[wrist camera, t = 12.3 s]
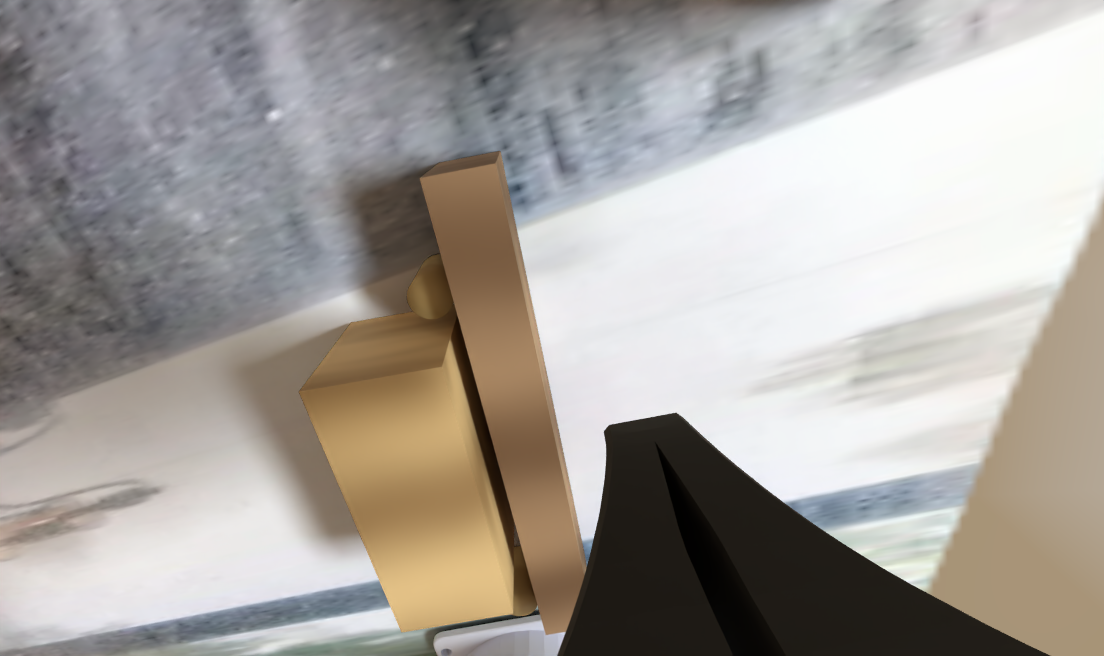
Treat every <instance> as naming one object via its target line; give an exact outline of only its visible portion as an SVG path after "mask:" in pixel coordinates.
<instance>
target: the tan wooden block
mask: <svg viewBox="0 0 1104 656" xmlns="http://www.w3.org/2000/svg"><path fill="white" fill-rule="evenodd" d="M299 394H300V396H301V398H302V401H303V403H304V405H305V408H306V410H307V412H308V415H309V417H310V419H311V422H312V424H313V426H314V429H315V431H316V433H317V436H318V438H319V440H320V443H321V445H322V447H323V450H324V452H325V454H326V457H327V459H328V461H329V464H330V466H331V468H332V471H333V473H334V475H335V478H336V480H337V482H338V485H339V487H340V489H341V492H342V494H343V496H344V499H345V501H346V504H347V506H348V508H349V511H350V513H351V515H352V518H353V520H354V522H355V525H356V527H357V529H358V532H359V534H360V536H361V539H362V541H363V543H364V546H365V548H366V550H367V553H368V555H369V557H370V560H371V562H372V564H373V567H374V569H375V571H376V574H377V576H378V578H379V581H380V583H381V585H382V588H383V590H384V592H385V595H386V597H387V599H388V602H389V604H390V606H391V609H392V611H393V613H394V616H395V618H396V620H397V623H398V625H399V627H400V630H401V632H407V631H413V630H419V629H425V628H431V627H437V626H443V625H449V624H455V623H461V622H467V621H473V620H479V619H485V618H491V617H496V616H502V615H508V614H513V587H514V518H513V515H512V511H511V508H510V504H509V500H508V497H507V493H506V489H505V486H504V482H503V479H502V475H501V471H500V468H499V464H498V460H497V457H496V453H495V450H494V446H493V442H492V439H491V435H490V431H489V428H488V424H487V421H486V417H485V413H484V410H483V406H482V402H481V399H480V395H479V392H478V388H477V384H476V381H475V377H474V373H473V370H472V366H471V363H470V359H469V355H468V352H467V348H466V345H465V341H464V337H463V334H462V330H461V326H460V323H459V319H458V316H457V312H456V308H455V305H454V304H453V305H452V307H451V309H450V311H449V312H448V313H447V314H446V315H444V316H443V317H441V318H437V319H426V318H423V317H420V316H418V315H417V314H416V313H414V312H408V313H402V314H396V315H391V316H385V317H379V318H374V319H368V320H363V321H357V322H351V323H350V325H349V326H348V327H347V329H346V330H345V331H344V333H343V334H342V335H341V337H340V338H339V339H338V341H337V342H336V343H335V345H334V346H333V347H332V348H331V350H330V351H329V352H328V354H327V355H326V356H325V358H324V359H323V360H322V362H321V363H320V364H319V366H318V367H317V368H316V370H315V371H314V372H313V374H312V375H311V376H310V378H309V379H308V380H307V382H306V383H305V384H304V386H303V387H302V388H301V390H300V391H299Z"/></svg>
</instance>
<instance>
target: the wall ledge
mask: <svg viewBox="0 0 1104 656" xmlns="http://www.w3.org/2000/svg"><path fill="white" fill-rule="evenodd" d="M420 181H421V185H422V189H423V192H424V196H425V200H426V203H427V207H428V210H429V214H430V218H431V221H432V225H433V229H434V232H435V236H436V239H437V243H438V247H439V250H440V254H437V255H433V256H430V257H429V258H427V259H426V260H425V261H424V262H423V264H422V266H421V267H420V269H419V271H418V273H417V274H416V276H415V278H414V279H413V281H412V283H411V285H410V286H409V288H408V291H407V301H408V304H409V306H410V308H411V309H412V311H413V312H414V313H416V314H417V315H418V316H420V317H423V318H426V319H437V318H441V317H443V316H444V315H446V314H447V313H448V312H449V311H450V309H451V307H452V305H453V302H454V305H455V308H456V312H457V316H458V319H459V323H460V326H461V330H462V334H463V337H464V341H465V345H466V348H467V352H468V355H469V359H470V363H471V366H472V370H473V373H474V377H475V381H476V384H477V388H478V392H479V395H480V399H481V402H482V406H483V410H484V413H485V417H486V421H487V424H488V428H489V431H490V435H491V439H492V442H493V446H494V450H495V453H496V457H497V460H498V464H499V468H500V471H501V475H502V479H503V482H504V486H505V489H506V493H507V497H508V500H509V504H510V508H511V511H512V515H513V518H514V522H515V526H516V529H517V533H518V537H519V540H520V544H521V546H517V547H514V587H513V614H511V615H514V616H525V615H528V614H530V613H532V612H533V611H534V610H535V609H536V608H537V605H538V609H539V613H540V616H541V620H542V623H543V627H544V631H545V634H546V635H550V634H556V633H562V632H566V630H567V627H568V625H569V622H570V619H571V616H572V613H573V610H574V607H575V604H576V601H577V598H578V595H579V592H580V589H581V585H582V582H583V579H584V575H585V572H586V568H587V567H586V560H585V554H584V549H583V544H582V539H581V535H580V530H579V525H578V520H577V516H576V511H575V506H574V501H573V496H572V492H571V487H570V482H569V477H568V472H567V468H566V463H565V458H564V453H563V449H562V444H561V439H560V434H559V429H558V425H557V420H556V415H555V410H554V405H553V401H552V396H551V391H550V386H549V382H548V377H547V372H546V367H545V362H544V358H543V353H542V348H541V343H540V338H539V334H538V329H537V324H536V319H535V315H534V310H533V305H532V300H531V295H530V291H529V286H528V281H527V276H526V271H525V267H524V262H523V257H522V252H521V248H520V243H519V238H518V233H517V228H516V224H515V219H514V214H513V209H512V204H511V200H510V195H509V190H508V185H507V181H506V176H505V171H504V166H503V161H502V157H501V152H500V151H497V152H492V153H487V154H482V155H477V156H471V157H466V158H461V159H456V160H451V161H446V162H440V163H438V164H437V165H435V166H434V167H433V168H432V169H430V170H429V171H428V172H427V173H425V174H424V175H423V176H422V177H420Z"/></svg>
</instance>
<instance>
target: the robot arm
mask: <svg viewBox="0 0 1104 656" xmlns="http://www.w3.org/2000/svg"><path fill="white" fill-rule="evenodd" d="M604 435H605V441H606V470H605V480H604V487H603V494H602V501H601V508H600V513H599V518H598V523H597V527H596V531H595V536H594V540H593V544H592V549H591V553H590V557H589V561H588V565H587V568H586V572H585V575H584V579H583V582H582V585H581V589H580V592H579V595H578V598H577V601H576V604H575V607H574V610H573V613H572V616H571V619H570V622H569V625H568V627H567V630H566V632H562V633H556V634H550V635H546V634H545V631H544V627H543V623H542V620H541V616H540V614H539V615H534V616H528V617H522V618H517V619H511V620H505V621H500V622H494V623H488V624H482V625H477V626H471V627H465V628H460V629H454V630H448V631H443V632H439V633H438V634H436V635H435V637H434V642H433V646H434V649H435V651H436V654H437V656H1050V655H1048V654H1046V653H1043V652H1041V651H1039V650H1037V649H1035V648H1033V647H1031V646H1028V645H1026V644H1024V643H1022V642H1020V641H1018V640H1016V639H1014V638H1012V637H1010V636H1008V635H1006V634H1004V633H1002V632H1000V631H998V630H996V629H994V628H992V627H990V626H988V625H986V624H984V623H982V622H981V621H979V620H977V619H975V618H973V617H971V616H969V615H967V614H965V613H964V612H962V611H960V610H958V609H956V608H954V607H952V606H950V605H949V604H947V603H945V602H943V601H941V600H939V599H937V598H935V597H934V596H932V595H930V594H928V593H926V592H924V591H922V590H920V589H918V588H917V587H915V586H913V585H911V584H909V583H908V582H906V581H904V580H902V579H901V578H899V577H897V576H895V575H894V574H892V573H890V572H888V571H887V570H885V569H883V568H881V567H880V566H878V565H877V564H875V563H873V562H872V561H870V560H868V559H867V558H865V557H864V556H862V555H860V554H859V553H857V552H855V551H854V550H852V549H851V548H849V547H847V546H846V545H844V544H843V543H841V542H840V541H838V540H837V539H835V538H834V537H832V536H831V535H829V534H828V533H826V532H825V531H823V530H822V529H820V528H819V527H817V526H816V525H814V524H813V523H811V522H810V521H809V520H807V519H806V518H804V517H803V516H802V515H800V514H799V513H797V512H796V511H795V510H793V509H792V508H790V507H789V506H788V505H786V504H785V503H784V502H782V501H781V500H780V499H778V498H777V497H776V496H774V495H773V494H772V493H770V492H769V491H768V490H766V489H765V488H764V487H763V486H761V485H760V484H759V483H758V482H756V481H755V480H754V479H753V478H751V477H750V476H749V475H748V474H746V473H745V472H744V471H743V470H741V469H740V468H739V467H738V466H736V465H735V464H734V463H733V462H732V461H731V460H729V459H728V458H727V457H726V456H725V455H723V454H722V453H721V452H720V451H719V450H718V449H717V448H715V447H714V446H713V445H712V444H711V443H710V442H709V441H708V440H706V439H705V438H704V437H703V436H702V435H701V434H700V433H699V432H698V431H697V430H696V429H695V428H693V427H692V426H691V425H690V424H689V423H688V422H687V421H686V420H685V419H684V418H683V417H682V416H680V415H679V414H677V413H672V414H667V415H661V416H656V417H650V418H645V419H639V420H634V421H628V422H623V423H618V424H612V425H609V426H608V427H607V428H606V429H605V431H604Z"/></svg>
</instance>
